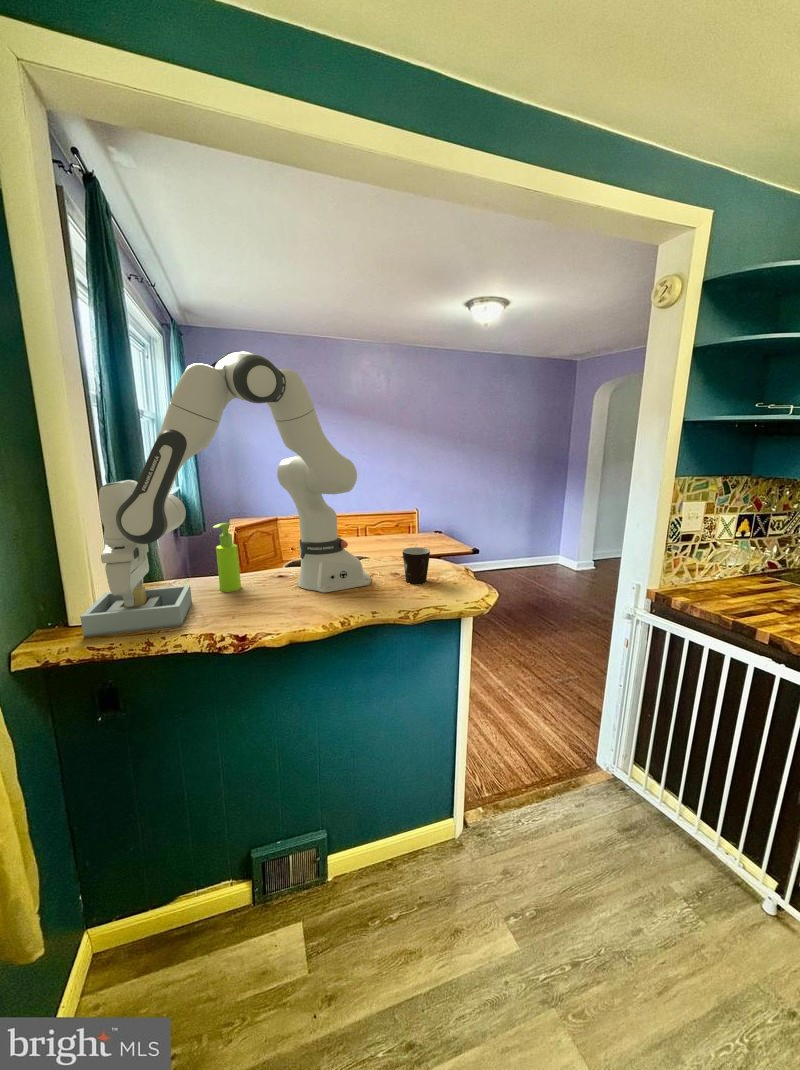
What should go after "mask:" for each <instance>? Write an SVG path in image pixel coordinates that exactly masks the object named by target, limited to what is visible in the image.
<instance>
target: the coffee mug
mask: <svg viewBox="0 0 800 1070" xmlns="http://www.w3.org/2000/svg"><path fill="white" fill-rule="evenodd" d="M430 554H431V550H430V549H428V548H426V547H417V546H416V547H407V548H403V549H402V559H403V567H404V577H405V582H407V584H408V583H410V584H409V585H412V584H421V585H424V584H426V583H427V578H428V571H429V562H430ZM425 582H426V583H425ZM423 583H424V584H423Z"/></svg>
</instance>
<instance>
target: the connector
mask: <svg viewBox="0 0 800 1070" xmlns="http://www.w3.org/2000/svg"><path fill="white" fill-rule="evenodd" d="M145 589H146V586H143V587H137V588H134V589H133V597H135V604H134V606H137V605H145V604H146V603H147V598H146V591H145ZM123 601H124V607H127V606H126V605H125V600H124V598H123Z"/></svg>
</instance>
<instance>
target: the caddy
mask: <svg viewBox="0 0 800 1070" xmlns="http://www.w3.org/2000/svg"><path fill="white" fill-rule="evenodd" d="M145 591H146V598H147V603H146V604H145V605H137V606H130V607H124V601H123V597H122V595H113V594H112V593H111V591H110V592H105V593H104V594H102V595H101V596H100V597H99V598H98V599H97V600H96V601H95V602H93V604H92V605H91V606H90V607H88V609H87V610H86V611H84V612H83V613H82V614H81V616H80V624H81V630H82V635H83V638H88V637H90V638H91V637H98V636H107V635H115V634H123V633H124V634H125V633H130V632H131V633H132V632H141V631H148V630H157V629H165V628H174V627H182V626H183V623H184V621H185V618H186V617H187V615H188V612H189V610H190V608H191V606H192V604H193V600H192V592H191V591H192V590H191V585H190V584H189V585H187V584H186V585H177V586H165V587H164V586H162V587H154V588H145Z"/></svg>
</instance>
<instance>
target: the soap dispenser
mask: <svg viewBox="0 0 800 1070" xmlns="http://www.w3.org/2000/svg"><path fill="white" fill-rule="evenodd" d="M229 526H231V522H221V523H218V524H215V525H213V526H212V529H221V534H219V542H220V543H219V544H220V545H217V546H215V552H216V562H217V571H218V573H217V574H218V583H219V590H220V591H221V592H226V593H229V592H234V591H235V592H236V591H238V590H241V588H242V584H241V573H240V559H239V550H238V545H237V544H235V543H234V541H233V534H232V533H230V532H229Z"/></svg>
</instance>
